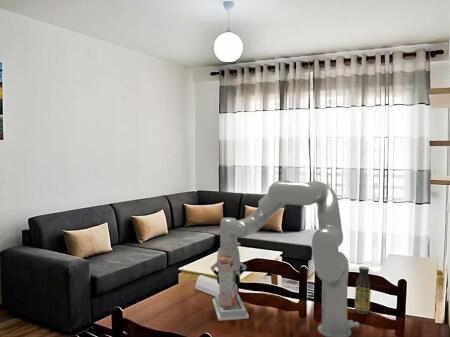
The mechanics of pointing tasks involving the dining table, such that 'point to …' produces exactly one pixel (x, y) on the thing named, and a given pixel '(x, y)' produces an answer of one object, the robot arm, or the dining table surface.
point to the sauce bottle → (362, 292)
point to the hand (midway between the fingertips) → (228, 284)
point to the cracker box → (227, 281)
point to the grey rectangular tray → (230, 310)
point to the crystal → (207, 285)
